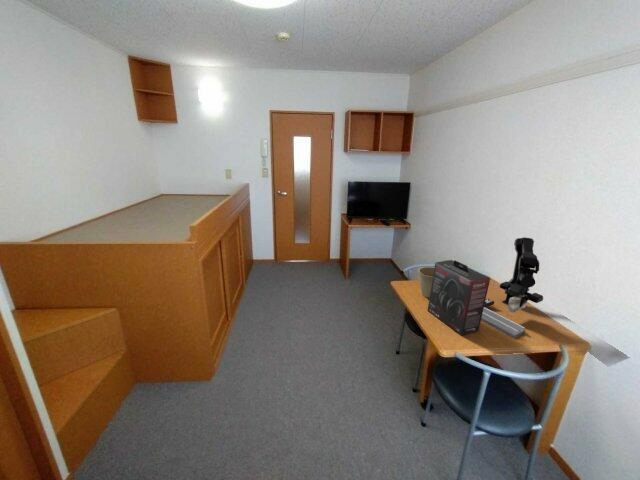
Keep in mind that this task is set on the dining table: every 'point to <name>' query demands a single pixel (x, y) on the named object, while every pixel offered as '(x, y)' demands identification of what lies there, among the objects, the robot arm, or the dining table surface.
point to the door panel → (515, 304)
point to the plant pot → (426, 280)
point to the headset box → (458, 296)
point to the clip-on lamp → (488, 303)
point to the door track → (502, 323)
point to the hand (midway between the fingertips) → (516, 305)
